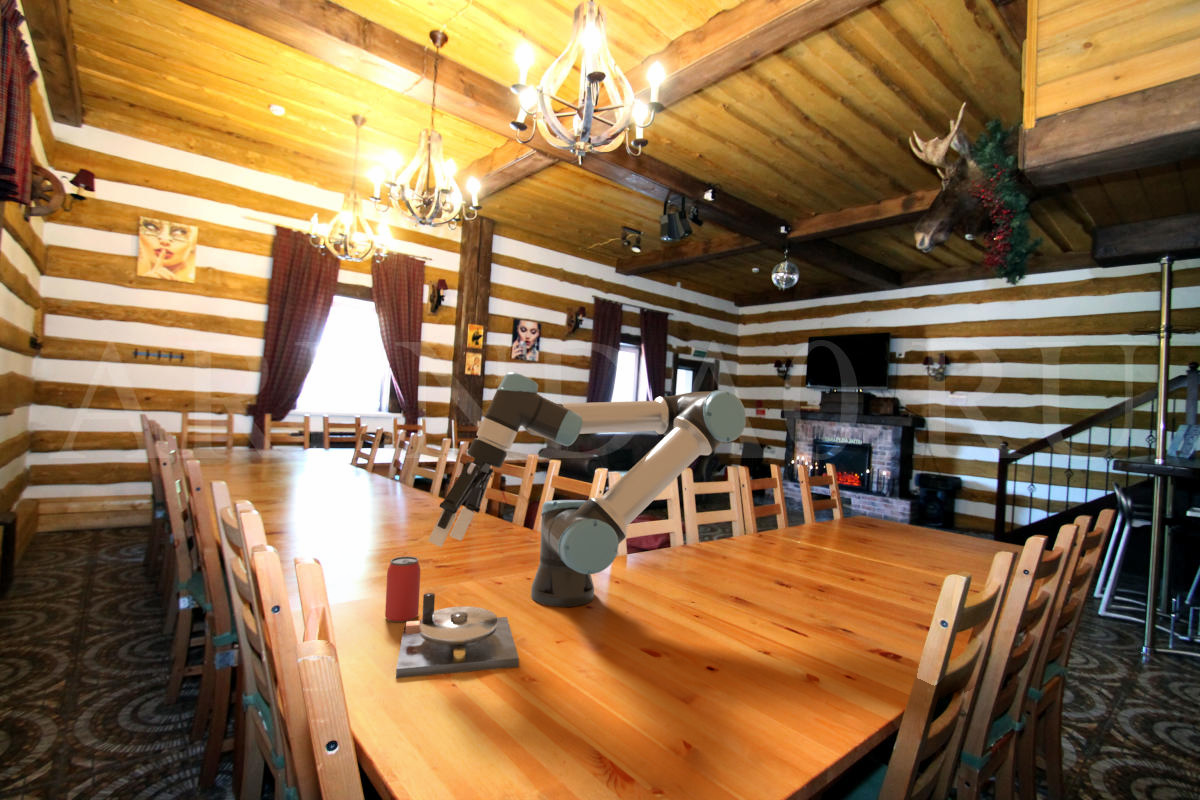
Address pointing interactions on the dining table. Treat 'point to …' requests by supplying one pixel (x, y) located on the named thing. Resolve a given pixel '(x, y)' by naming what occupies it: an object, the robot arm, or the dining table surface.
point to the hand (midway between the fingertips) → (445, 541)
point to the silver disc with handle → (452, 623)
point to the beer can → (402, 589)
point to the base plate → (443, 654)
